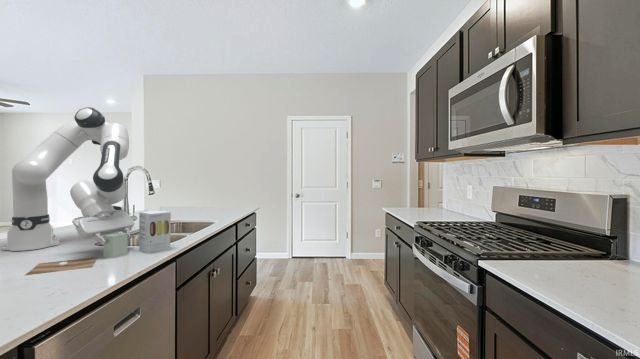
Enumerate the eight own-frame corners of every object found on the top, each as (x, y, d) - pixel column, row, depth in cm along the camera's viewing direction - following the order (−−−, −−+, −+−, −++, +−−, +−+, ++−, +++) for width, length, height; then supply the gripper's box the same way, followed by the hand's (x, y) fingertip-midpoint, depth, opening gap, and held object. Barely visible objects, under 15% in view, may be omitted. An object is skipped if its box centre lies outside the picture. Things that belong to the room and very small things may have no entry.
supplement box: (148, 254, 122) (147, 213, 122) (138, 251, 128) (138, 212, 128) (171, 250, 130) (171, 211, 130) (161, 246, 136) (161, 209, 135)
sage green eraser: (103, 258, 115) (103, 235, 115) (118, 254, 121) (118, 232, 121) (112, 260, 114) (112, 236, 113) (127, 255, 119) (127, 233, 119)
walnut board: (39, 266, 106) (39, 263, 106) (98, 260, 114) (98, 257, 114) (24, 279, 94) (24, 275, 94) (92, 270, 102) (92, 267, 102)
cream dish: (60, 265, 104) (59, 262, 104) (68, 264, 105) (68, 261, 105) (58, 266, 102) (58, 263, 102) (66, 265, 104) (66, 263, 103)
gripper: (74, 212, 110) (93, 241, 107) (126, 206, 129) (143, 230, 126) (66, 224, 111) (85, 252, 108) (118, 216, 131) (135, 240, 128)
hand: (117, 240), depth 117 cm, fingers open, 8 cm apart
